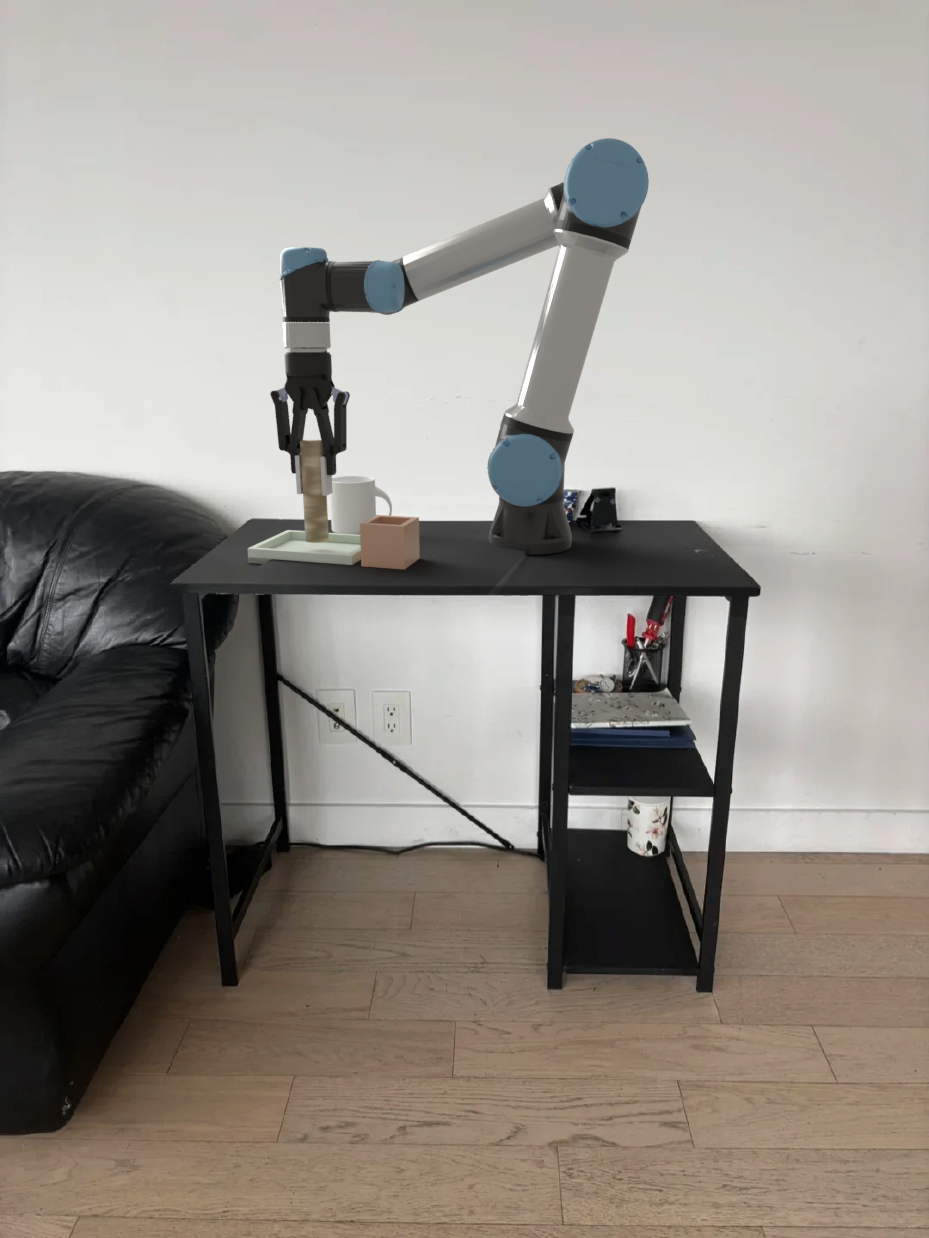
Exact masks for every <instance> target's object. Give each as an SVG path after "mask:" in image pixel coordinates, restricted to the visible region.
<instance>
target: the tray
mask: <svg viewBox="0 0 929 1238" xmlns="http://www.w3.org/2000/svg"><path fill="white" fill-rule="evenodd" d="M328 534H329V540H328V541H326V542H321V543H311V542H306V540H305V530H295V529H294V530H292V529H287V530H285V531H283V532H280V533H278V534H276V535H274V536H271V537H269V538H267V539H265V540H263V541H261V542H258V543H256V544H254V545H252V546H249V547H248V548H247V549H246V550H247V560H248V561H247V562H248V563H249V564H260V565H263V564H265V563H268V562H269V561H272V560H277V561H293V562H302V563H303V562H306V563H317V564H318V563H319V564H332V565H345V566H353V565H355V564H356V563H359V562H360V561H361V543H360V534H341V533H335V532H328Z"/></svg>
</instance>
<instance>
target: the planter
mask: <svg viewBox="0 0 929 1238" xmlns="http://www.w3.org/2000/svg"><path fill="white" fill-rule="evenodd" d="M359 535H360V543H361V560H360V563H361V564H360V565H361V567H365V568H376V569H377V568H379V569H391V570H406V569H408V568H409V567H410V566H412V564H414V563H416V562H418V560H420V556H421V555H420V517H417V516H402V515H401V516H400V515H398V516H397V515H391V516H388V515H383V514H376V516H374V517H372V518H370V519H368V520H366V521H364V522H362V523H360V534H359Z"/></svg>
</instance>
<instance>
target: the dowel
mask: <svg viewBox="0 0 929 1238" xmlns="http://www.w3.org/2000/svg"><path fill="white" fill-rule="evenodd" d="M300 450H301V453H300V454H301V468H302V486H303V494H302V500H303V501H302V502H303V519H304V531H305V540H306V542H311V543H321V542H326V541H328V540H329V534H328V533H329V520H328V519H329V517H328V515H329V514H328V495H327V496H322V483H321V463H320V457H321V456H323V454H324V449H323V445H322V441H321V439H303V440H302V441H300Z"/></svg>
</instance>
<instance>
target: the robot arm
mask: <svg viewBox="0 0 929 1238" xmlns="http://www.w3.org/2000/svg"><path fill="white" fill-rule="evenodd" d="M649 182H650V181H649V172H648V169H647V166H646V163H645V161H644V159H643V157H642V156H641V154H640V153H639V151H637V149H636V148H634V147H633V146H632V145H631V144H629V143H628V142H626V141H623V140H620V139H616V138H610V137H609V138H601V139H597V140H594V141H591V142H590V143H588V144H586V145H584V146H582V148H581V149H579V151H578V152H577V153H576V154H575V155H574V157H573V158H572V159H571V161H570V163H569V164H568V165H567V168H566V171H565V174H564V178H563V181H561V182H560V183H559V184H557V185H554V186H551V187H549V188H548V189H547V191H546V194H545V196H544V197H543V198H541V199H538V200H535V201H533V202H531V203H529V204H526V205H523V206H521V207H520V208H519V207H518V208H517V209H514V210H511V211H510V212H509V211H508V212H507V213H505V214H502V215H500V216H497V217H495V218H493V219H490V220H489V221H488V220H487V221H485V222H483V223H481V224H478V225H476V226H474V227H472V228H469V229H466V230H464V231H461V232H459V233H457V234H455V235H452V236H449V237H447V238H445V239H442V240H440V241H437V242H435V243H433V244H430V245H428V246H426V247H423V248H421V249H419V250H416V251H414V252H411V253H409V254H407V255H404V256H402V257H400V258H397V259H395V260H392V261H385V260H380V259H378V260H377V259H376V260H370V261H369V260H368V261H367V260H366V261H365V260H363V261H359V260H358V261H331V260H329V258H328V253H327V251H326V249H324V248H320V247H311V246H310V247H305V246H302V247H301V246H297V247H296V246H295V247H286V248H284V249H282V251H281V252H280V253H279V254H280V255H279V278H278V279H279V280H278V282H279V287H280V298H281V299H280V300H281V311H282V312H281V313H282V329H283V330H282V332H283V335H282V337H283V348H285V349H287V352H286V351H285V354H284V368H285V370H284V371H285V375H286V376H285V377H286V380H285V383H284V387H281V388H279V389H277V390H271V391H270V393H269V395H270V398H271V400H272V403H273V406H274V410H275V411H274V412H275V422H276V432H277V442H278V449H279V450H280V451H282V452H283V451H284V452H287V453H288V454H289V455H290V470H291V473H292V475H293V474H294V475H295V482H296V484H295V485H296V494H297V495H303V486H302V468H301V450H300V441H302V440H304V436H305V434H304V433H305V428H306V427H305V426H306V420H307V414H308V412H309V410H311V411H313V415H314V416H315V419H316V422H317V427H318V431H319V436H320V440H321V441H322V445H323V449H324V454H323V456H321V457H320V463H321V483H322V496H327V497H328V496H330V494H332V493H333V488H332V478H333V476H334V475H336V473H337V455H338V454H340V453H343V452H345V451H347V448H348V447H347V444H348V443H347V438H348V437H347V413H348V412H347V405H348V403H349V400H350V397H351V394H350V392H349V391H343V390H340V389H338V388H336V387H335V383H334V382H333V378H332V377H333V376H332V374H333V370H332V367H333V366H332V354H331V353H330V352H329V351H328V349H330V348H331V347H332V346H331V345H332V344H331V326H330V321H331V320H330V313H331V312H333V313H340V312H341V313H343V312H344V313H371V314H373V313H374V314H375V313H376V314H381V315H385V316H388V315H389V316H390V315H393V314H396V313H399V312H400V311H401V312H402V311H403V309H405V308H406V307H409V306H410V305H413V304H416V303H417V302H420V301H422V300H425V299H428V298H430V297H432V296H435V295H437V294H440V293H442V292H446V291H447V290H450V289H452V288H455V287H457V286H461V285H462V284H465V283H467V282H470V281H472V280H475V279H478V278H480V277H483V276H485V275H487V274H490V273H492V272H494V271H495V272H496V271H498V270H500V269H503V268H506V267H507V266H510V265H512V264H515V263H517V262H521V261H522V260H525V259H528V258H530V257H533V256H536V255H538V254H541V253H543V252H545V251H547V250H550V249H553V248H555V247H558V246H559V248H558V251H557V255H556V258H555V262H554V265H553V270H552V271H551V272H552V273H551V276H550V280H549V283H548V287H547V290H546V295H545V298H544V302H543V305H542V310H541V313H540V317H539V320H538V324H537V327H536V331H535V334H534V337H533V342H532V346H531V350H530V354H529V357H528V362H527V364H526V368H525V372H524V375H523V379H522V383H521V386H520V390H519V394H518V397H517V400H516V403H515V404H514V405H513V406H512V405H511V406H510V408H507V409H506V410H505V411H504V412H503V416H502V420H501V421H500V427H499V430H498V435H497V438H496V441H495V445H494V447H493V449H492V451H491V453H490V454H489V457H488V460H487V467H486V468H487V474H488V480H489V483H490V485H491V487H492V489H493V491H494V492H495V493H496V494H497V496H498V506H497V509H496V511H495V514H494V517H493V521H492V524H491V526H490V528H489V529H490V530H489V532H488V541H489V543H490V544H491V545H494V546H496V547H500V548H504V549H510V550H517V551H518V550H519V551H525V552H523V555H531V556H532V555H533V556H534V555H549V554H558V553H561V552H565V551H567V550H569V549H571V547H572V541H573V540H572V539H573V536H572V535H573V534H572V530H571V526H570V523H569V521H568V516H567V513H566V509H565V505H564V495H565V494H564V492H565V469H566V468H565V465H566V464H565V463H566V460H567V457H568V453H569V450H570V446H571V442H572V440H573V436H574V433H575V429H574V427H573V425H572V424H571V422H570V419H569V416H570V412H571V411H572V410H571V409H572V406H573V403H574V399H575V396H576V393H577V389H578V386H579V383H580V380H581V376H582V373H583V369H584V366H585V363H586V358H587V355H588V352H589V349H590V347H591V346H590V345H591V343H592V339H593V335H594V333H595V332H594V331H595V329H596V324H597V321H598V319H599V315H600V311H601V308H602V306H603V302H604V298H605V295H606V291H607V289H608V288H607V287H608V284H609V281H610V278H611V274H612V271H613V268H614V265H615V262H616V261H617V260H619V259H620V258H621V257H623V256H624V255H626V254H627V253H628V252H629V249H630V245H631V242H632V240H633V235H634V232H635V229H636V226H637V222H638V219H639V217H640V216H639V215H640V212H641V209H642V207H643V204H644V203H645V200H646V199H647V198H646V197H647V194H648V191H649ZM331 397H332V401H333V403H334V406H333V429H332V424H331V420H330V414H329V413H330V409H329V405H328V402H329V400H330V399H331ZM289 398H290V399H291V401H292V404H293V405H292V411H291V412H292V414H293V415H292V422H290V415H289V414H290V413H289V404H288V399H289ZM290 423H292V424H290Z"/></svg>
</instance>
